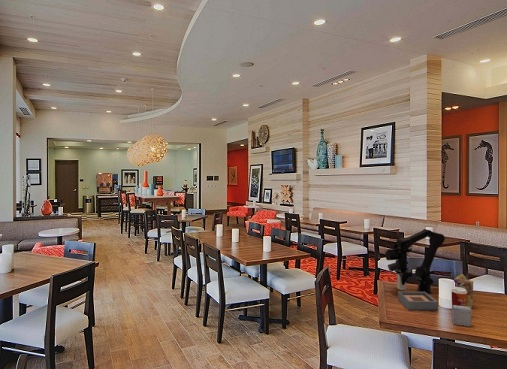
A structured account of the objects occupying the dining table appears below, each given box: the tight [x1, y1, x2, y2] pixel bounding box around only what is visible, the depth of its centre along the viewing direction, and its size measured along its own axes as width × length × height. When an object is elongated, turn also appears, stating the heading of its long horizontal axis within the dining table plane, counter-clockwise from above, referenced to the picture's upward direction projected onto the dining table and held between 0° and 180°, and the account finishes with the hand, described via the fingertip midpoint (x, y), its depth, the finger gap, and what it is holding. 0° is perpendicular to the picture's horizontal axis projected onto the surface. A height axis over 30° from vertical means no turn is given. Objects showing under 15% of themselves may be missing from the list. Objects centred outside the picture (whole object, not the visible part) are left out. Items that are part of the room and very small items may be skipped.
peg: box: [396, 273, 407, 291], centre depth 218 cm, size 4×4×9 cm
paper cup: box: [450, 286, 467, 306], centre depth 187 cm, size 8×8×14 cm
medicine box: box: [451, 304, 473, 327], centre depth 176 cm, size 8×4×9 cm, turn 71°
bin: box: [397, 290, 439, 312], centre depth 200 cm, size 16×16×5 cm
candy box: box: [453, 277, 474, 309], centre depth 199 cm, size 9×4×15 cm, turn 39°
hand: (401, 283), depth 218 cm, fingers closed on peg, 4 cm apart
